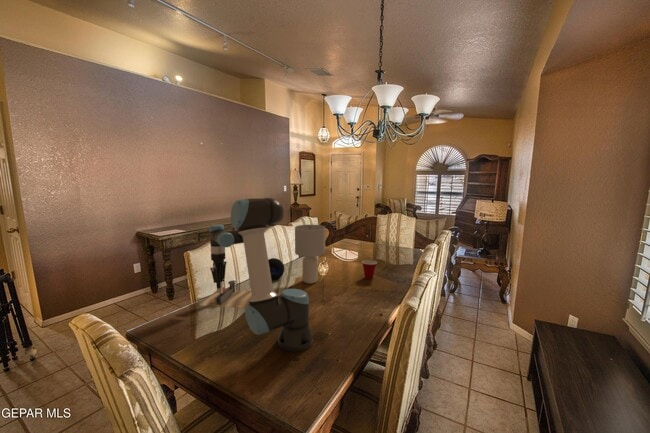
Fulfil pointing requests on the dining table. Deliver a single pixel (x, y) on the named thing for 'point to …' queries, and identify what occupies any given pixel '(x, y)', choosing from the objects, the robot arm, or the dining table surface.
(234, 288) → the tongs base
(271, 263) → the decorative sphere
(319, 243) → the lamp
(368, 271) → the plastic cup
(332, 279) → the dining table surface
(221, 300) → the grey lever with knob
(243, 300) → the board
